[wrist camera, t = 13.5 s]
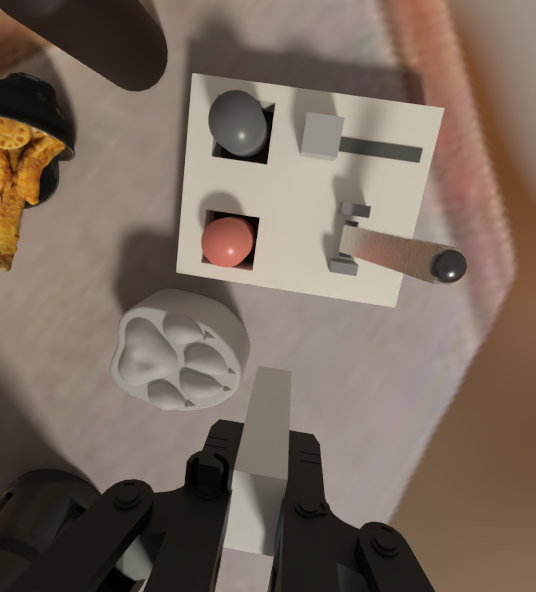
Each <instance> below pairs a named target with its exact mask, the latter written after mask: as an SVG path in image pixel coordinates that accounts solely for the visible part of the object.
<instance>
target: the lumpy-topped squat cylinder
mask: <svg viewBox="0 0 536 592" xmlns="http://www.w3.org/2000/svg"><path fill="white" fill-rule="evenodd" d="M249 354H250V341H249V337H248V334H247V332H246V330H245V328H244V326H243V324H242V323H241V322H240V320H239V319H238V318H237V317H236V316H235V315H234V314H233V313H232V312H231V311H230V310H229V309H228V308H227V307H226V306H225V305H224V304H222V303H220V302H218V301H216V300H214V299H211V298H208V297H205V296H203V295H199V294H196V293H193V292H188V291H183V290H179V289H162V290H159V291H157V292H155V293H154V294H152V295H150V296H149V297H147V298H146V299H144V300H143V301H141V302H140V303H138V304H137V305H135V306H134V307H132V308H131V309H129V310H128V311H126V312H125V313H124V314H123V316H122V317H121V319H120V322H119V327H118V345H117V349H116V351H115V354H114V356H113V358H112V362H111V367H110V369H111V374H112V377H113V379H114V380H115V382H116V383H117V384H118V385H119V387H120V388H122V389H123V390H124V391H125V392H127V393H128V394H130V395H132V396H135V397H137V398H139V399H142V400H145V401H147V402H150V403H152V404H153V405H154V406H155V407H157V408H159V409H162V410H173V409H175V410H182V411H187V410H196V409H202V408H207V407H211V406H214V405H216V404H218V403H221V402H222V401H224V400H225V399H227V398H228V397H230V396H231V395H232V394H233V393H234V392H235V391H236V390H237V388H238V387H239V385H240V382H241V379H242V376H243V373H244V370H245V367H246V363H247V360H248V357H249Z"/></svg>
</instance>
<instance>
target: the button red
mask: <svg viewBox="0 0 536 592" xmlns="http://www.w3.org/2000/svg"><path fill="white" fill-rule="evenodd" d="M255 241H256V235H255V231H254V229H253V227H252V225H251V224H250V223H249V222H248V221H247V220H245V219H244V218H241V217H238V216H231V217H227V218H222V219H218V220H215V221H213V222H212V223H210V224H209V225H208V226H207V227H206V228H205V230H204V232H203V234H202V238H201V247H202V250H203V253H204V255H205V256H206V258H207V259H208V260H209V261H210V262H211V263H213V264H215V265H217V266H219V267H232V266H235V265H237V264H239V263H240V262H241V261H242V260H243V259H244V258H245V257H246V256H247V255H248V254H249V253H250V252H251V250H252V249H253V247H254V245H255Z"/></svg>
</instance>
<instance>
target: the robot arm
mask: <svg viewBox="0 0 536 592" xmlns="http://www.w3.org/2000/svg"><path fill="white" fill-rule="evenodd" d="M290 388H291V371H285V370H279V369H273V368H267V367H261V366H258V368H257V373H256V377H255V381H254V385H253V390H252V394H251V398H250V403H249V407H248V411H247V416H246V420H245V423H239V422H233V421H227V420H222V419H219V420H218V421H217V422H216V423H215V424H214V425H212V426H211V429H210V431H209V434H208V437H207V439H206V442H205V445H204V447H203V450H202V451H198V452H197V453H195V454H193V455H192V456H191V457H190V458H189V459H188V461H187V465H186V475H185V485H184V486H182V487H181V488H178V489H176V490H173V491H168V492H159V493H154V492H153V490H152V488H151V486H150V485H148V484H147V483H145V482H144V481H140V480H136V479H133V480H124V481H121V482H118V483H116V484H114V485H113V486H111V487H110V488H109V489H107V490H106V491H105V492H104V493H103V494H102V495H101V496H100V495H99V494H98V493H97V492H96V491H95V490H94V489H93V488H92V487H91V486H90V485H88V484H87V483H85V482H84V481H82V480H81V479H79V478H77V477H75V476H73V475H70V474H68V473H64V472H61V471H55V470H38V471H33V472H30V473H27V474H25V475H23V476H21V477H20V478H18V479H17V480H16V481H15V482H14V483H13V484H12V485H11V486H10V487H9V488H8V489H7V490H6V491H5V492H4V493H3V494H2V496H1V497H0V592H138V591H139V590H140V588H141V587H142V585H143V584H144V581H145V579H148V581H147V583H146V586H145V588H144V591H143V592H215V588H216V583H217V578H218V573H219V568H220V563H221V556H222V550H223V547H225V548H230V549H236V550H241V551H247V552H252V553H257V554H263V555H268V556H273V553H274V559H273V565H272V570H271V576H270V581H269V586H268V591H267V592H435V591H434V589H433V587H432V585H431V584H430V582H429V580H428V578H427V577H426V575H425V573H424V571H423V569H422V568H421V566H420V564H419V562H418V561H417V559H416V557H415V556H414V554H413V552H412V550H411V548H410V547H409V545H408V543H407V542H406V540H405V539H404V538H403V536H402V535H401V534H400V533H399V532H397V531H396V530H395V529H394V528H392V527H390V526H388V525H386V524H384V523H380V522H369V523H365V524H364V525H363V526H362V527H361V528H360V529H358V528H355V527H353V526H351V525H349V524H347V523H345V522H343V521H342V520H340V519H339V518H338V517H336V516H335V515H334V514H333V513H332V511H331V510H330V507H329V504H328V503H327V502H326V500H325V494H324V484H323V473H322V466H321V464H322V463H321V452H320V444H319V442H318V441H317V439H316V438H315V436H314V435H313V434H308V433H302V432H296V431H291V430H289V419H290Z"/></svg>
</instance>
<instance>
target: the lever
mask: <svg viewBox="0 0 536 592" xmlns="http://www.w3.org/2000/svg"><path fill="white" fill-rule="evenodd" d="M358 225H359V222H355V221H349V220H346V221H345V225H344V227H343V232H342V237H341V243H340V248H339V256H342V257H347V258H352V256H354V257H357V258H359V259H362V260H365V261H368V262H371V263H374V264H377V265H380V266H383V267H386V268H389V269H392V270H395V271H397V272H400V273H403V274H406V275H409V276H412V277H415V278H418V279H421V280H424V281H427V282H430V283H433V284H447V285H451V283H453V282H456V281H458V280H459V279H461V278H462V277H463V275H464V274H465V272H466V269H467V263H466V259H465V258H464V256H463V255H462V254H461V253H460V251H461V249H460V248H455V247H451V246H446V245H441V244H437V243H432V242H428V241H423V240H418V239H414V238H409V237H404V236H400V235H395V234H390V233H386V232H381V231H376V230H372V229H367V228H363V227H358Z"/></svg>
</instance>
